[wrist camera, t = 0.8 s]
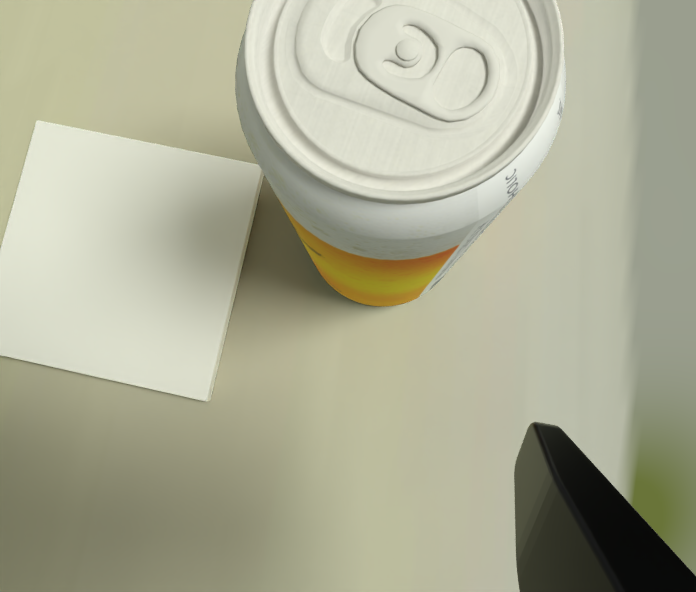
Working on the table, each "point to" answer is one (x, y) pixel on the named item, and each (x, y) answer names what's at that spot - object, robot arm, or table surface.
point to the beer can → (398, 126)
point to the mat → (124, 258)
